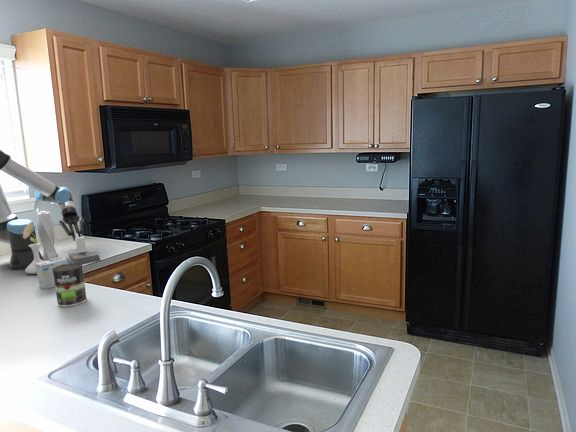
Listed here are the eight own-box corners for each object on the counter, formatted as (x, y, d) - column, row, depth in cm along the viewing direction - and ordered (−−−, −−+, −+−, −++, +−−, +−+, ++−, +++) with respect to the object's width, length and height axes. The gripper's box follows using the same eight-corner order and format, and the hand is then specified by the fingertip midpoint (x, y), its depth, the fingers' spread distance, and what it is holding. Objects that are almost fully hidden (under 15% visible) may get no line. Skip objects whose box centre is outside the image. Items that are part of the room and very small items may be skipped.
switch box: (74, 264, 218) (73, 259, 217) (69, 259, 229) (68, 253, 228) (99, 260, 225) (98, 254, 224) (93, 254, 236) (92, 249, 235)
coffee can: (84, 304, 163) (79, 269, 161) (54, 308, 161) (49, 272, 158) (89, 295, 173) (84, 261, 170) (61, 299, 170) (55, 265, 168)
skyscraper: (38, 261, 227) (30, 209, 222) (50, 257, 234) (42, 207, 229) (50, 262, 225) (42, 209, 220) (61, 258, 232) (54, 207, 227)
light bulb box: (63, 279, 195) (60, 256, 193) (70, 282, 191) (66, 259, 189) (38, 286, 187) (34, 263, 185) (44, 289, 183) (40, 265, 181)
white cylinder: (78, 253, 227) (76, 239, 225) (76, 251, 230) (74, 237, 229) (86, 251, 229) (84, 237, 228) (84, 250, 232) (82, 236, 231)
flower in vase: (26, 271, 211) (18, 221, 206) (52, 267, 216) (45, 218, 211) (24, 278, 199) (15, 225, 195) (52, 273, 204) (44, 222, 200)
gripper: (80, 213, 250) (91, 245, 240) (55, 216, 243) (65, 250, 233) (81, 205, 245) (92, 238, 235) (55, 208, 237) (66, 242, 227)
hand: (78, 244), depth 234 cm, fingers closed
